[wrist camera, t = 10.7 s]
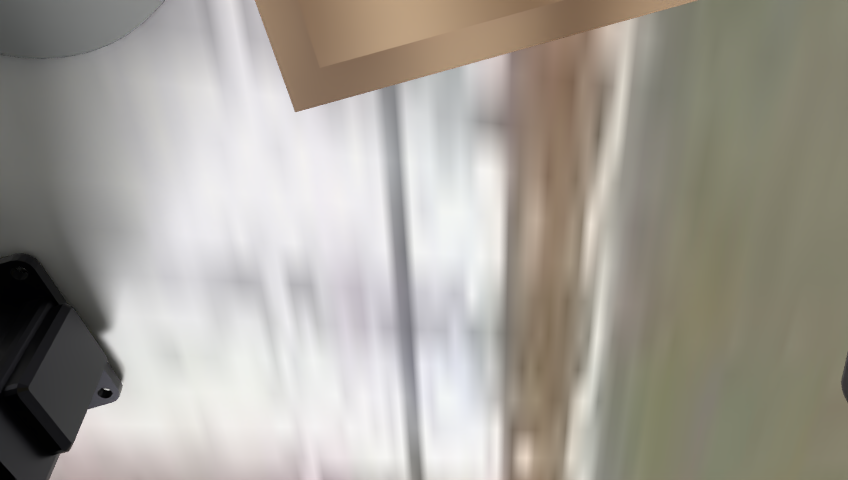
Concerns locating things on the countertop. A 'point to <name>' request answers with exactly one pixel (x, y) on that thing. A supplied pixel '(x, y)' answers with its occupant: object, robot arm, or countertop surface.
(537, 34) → the walnut stand
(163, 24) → the countertop surface
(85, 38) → the grey coaster
